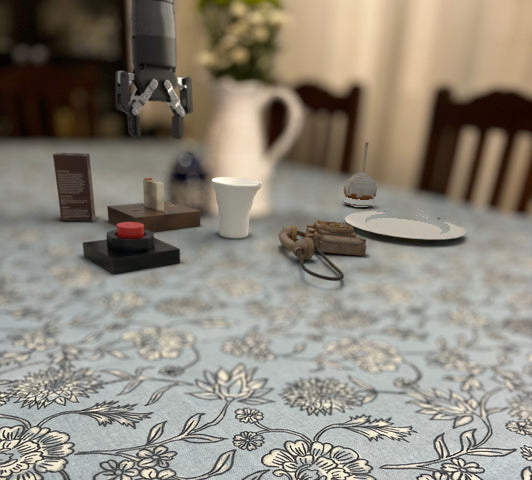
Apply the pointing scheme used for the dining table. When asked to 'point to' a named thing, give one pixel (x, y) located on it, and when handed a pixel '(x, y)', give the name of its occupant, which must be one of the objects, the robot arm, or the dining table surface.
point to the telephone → (322, 243)
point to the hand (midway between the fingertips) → (156, 138)
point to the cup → (234, 204)
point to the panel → (155, 216)
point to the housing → (130, 252)
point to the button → (130, 229)
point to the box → (74, 186)
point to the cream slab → (153, 194)
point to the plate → (402, 228)
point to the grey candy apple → (361, 184)
